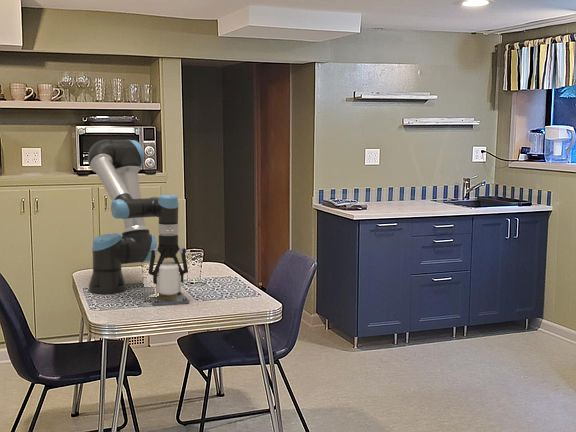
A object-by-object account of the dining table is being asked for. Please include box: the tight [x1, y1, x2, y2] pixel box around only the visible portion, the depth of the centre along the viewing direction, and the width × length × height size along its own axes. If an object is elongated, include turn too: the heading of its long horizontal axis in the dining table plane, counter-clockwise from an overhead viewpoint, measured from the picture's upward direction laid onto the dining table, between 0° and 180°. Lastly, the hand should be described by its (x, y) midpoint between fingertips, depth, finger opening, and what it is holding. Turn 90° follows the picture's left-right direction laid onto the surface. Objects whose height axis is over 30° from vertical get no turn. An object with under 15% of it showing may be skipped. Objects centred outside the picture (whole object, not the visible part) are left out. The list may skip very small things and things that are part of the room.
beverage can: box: [157, 261, 180, 295], centre depth 277 cm, size 8×8×12 cm
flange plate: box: [149, 291, 190, 307], centre depth 279 cm, size 14×14×4 cm
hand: (168, 291), depth 278 cm, fingers closed on beverage can, 8 cm apart
